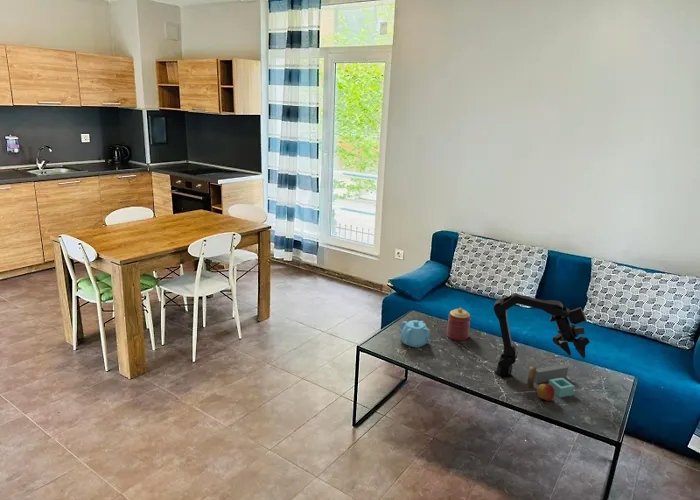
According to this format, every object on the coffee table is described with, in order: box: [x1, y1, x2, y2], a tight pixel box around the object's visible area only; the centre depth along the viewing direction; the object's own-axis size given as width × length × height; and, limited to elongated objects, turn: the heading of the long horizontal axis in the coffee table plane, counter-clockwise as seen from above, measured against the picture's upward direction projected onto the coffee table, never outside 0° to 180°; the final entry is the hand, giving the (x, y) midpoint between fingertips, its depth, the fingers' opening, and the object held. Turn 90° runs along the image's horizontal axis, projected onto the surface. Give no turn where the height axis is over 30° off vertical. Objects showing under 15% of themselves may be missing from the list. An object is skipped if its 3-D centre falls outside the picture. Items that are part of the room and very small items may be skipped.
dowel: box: [526, 365, 537, 389], centre depth 238 cm, size 3×3×10 cm
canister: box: [446, 307, 472, 341], centre depth 287 cm, size 13×13×18 cm
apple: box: [536, 383, 555, 402], centre depth 227 cm, size 8×8×8 cm
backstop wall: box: [534, 364, 569, 384], centre depth 245 cm, size 18×3×6 cm, turn 109°
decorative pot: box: [399, 319, 432, 349], centre depth 277 cm, size 16×16×14 cm
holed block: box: [547, 378, 575, 399], centre depth 235 cm, size 8×8×5 cm
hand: (577, 356), depth 232 cm, fingers open, 9 cm apart
